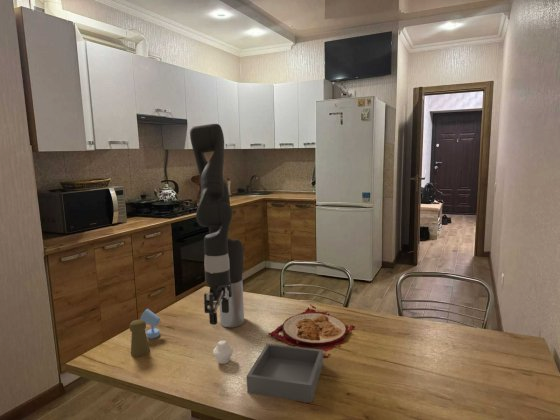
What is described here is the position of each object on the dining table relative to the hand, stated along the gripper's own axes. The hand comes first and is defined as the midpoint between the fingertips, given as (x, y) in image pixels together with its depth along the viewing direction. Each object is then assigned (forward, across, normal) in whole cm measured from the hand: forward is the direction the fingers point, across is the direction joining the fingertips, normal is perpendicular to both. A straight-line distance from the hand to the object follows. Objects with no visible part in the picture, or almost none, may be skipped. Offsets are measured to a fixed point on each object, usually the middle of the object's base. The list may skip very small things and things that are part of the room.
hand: (219, 318), depth 118 cm
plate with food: (+15, -27, +25) cm, 40 cm away
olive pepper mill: (+15, +1, -30) cm, 33 cm away
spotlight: (+15, -10, -33) cm, 37 cm away
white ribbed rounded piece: (+15, 0, 0) cm, 15 cm away
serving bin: (+15, +3, +22) cm, 27 cm away
